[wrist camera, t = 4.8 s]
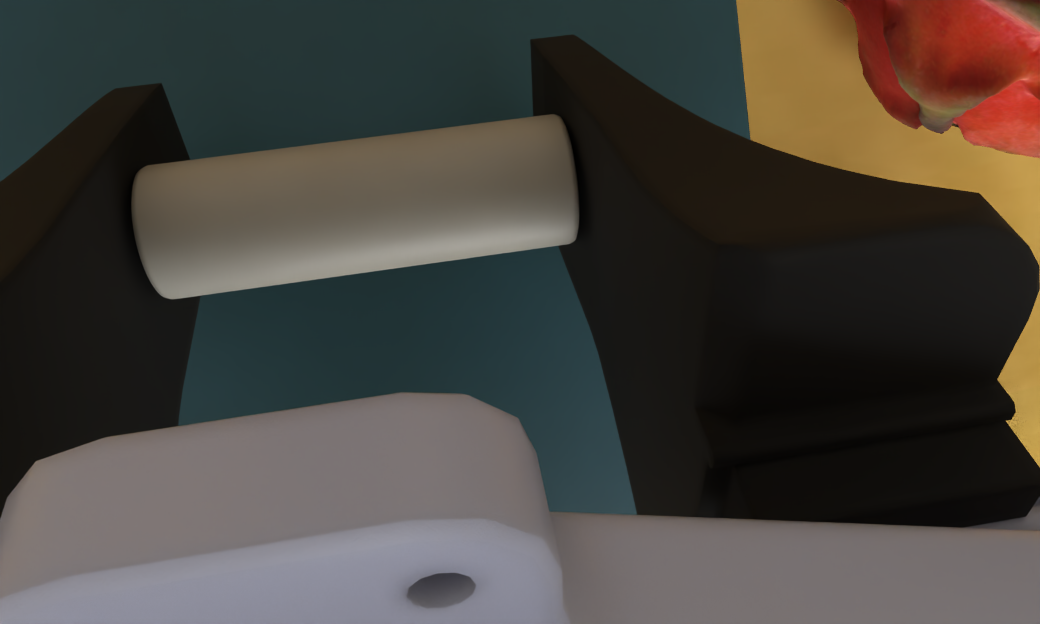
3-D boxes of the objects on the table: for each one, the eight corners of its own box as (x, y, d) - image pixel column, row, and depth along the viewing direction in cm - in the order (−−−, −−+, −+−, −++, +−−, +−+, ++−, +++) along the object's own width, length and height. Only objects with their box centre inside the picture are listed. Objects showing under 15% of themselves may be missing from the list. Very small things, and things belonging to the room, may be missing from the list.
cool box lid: (772, 493, 16) (926, 614, 11) (75, 610, 15) (-105, 803, 10) (695, -247, 14) (831, -494, 9) (-85, -176, 13) (-389, -410, 8)
